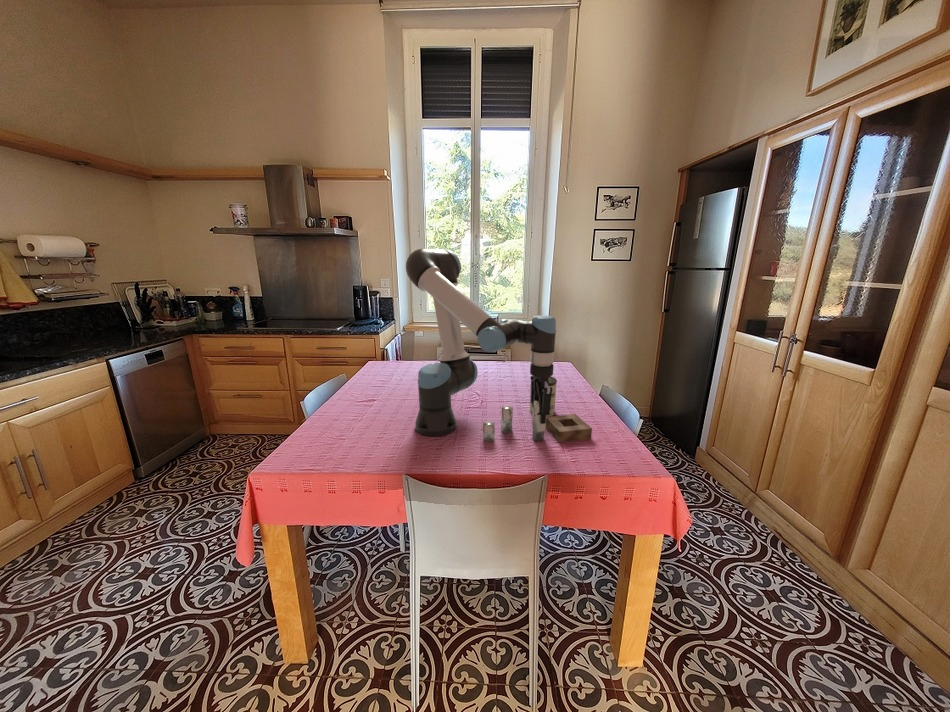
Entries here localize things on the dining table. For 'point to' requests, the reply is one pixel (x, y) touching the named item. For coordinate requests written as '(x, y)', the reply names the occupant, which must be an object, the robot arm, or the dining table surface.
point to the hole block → (568, 428)
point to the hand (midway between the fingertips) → (538, 427)
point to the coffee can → (552, 406)
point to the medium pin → (506, 419)
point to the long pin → (536, 435)
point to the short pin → (488, 431)
